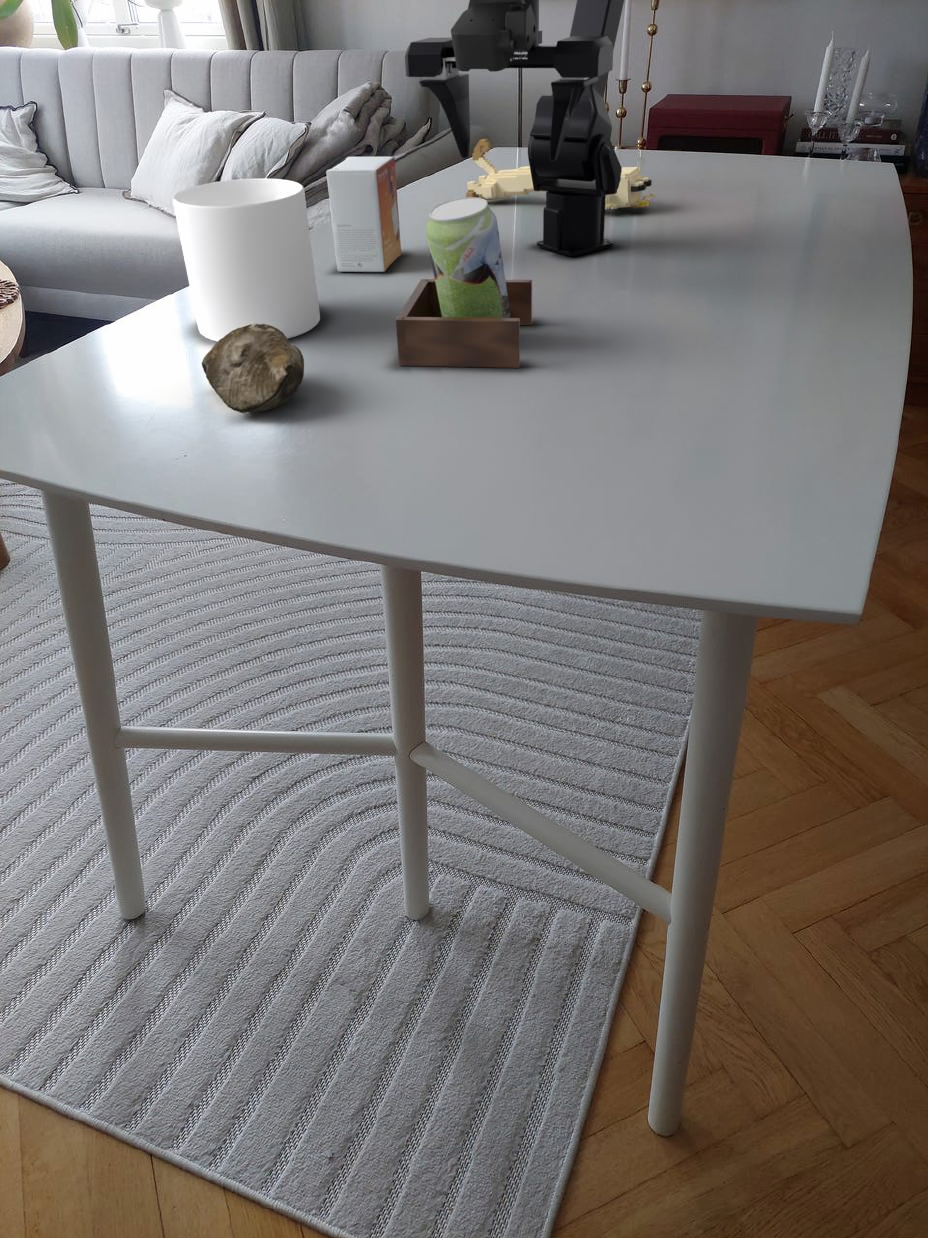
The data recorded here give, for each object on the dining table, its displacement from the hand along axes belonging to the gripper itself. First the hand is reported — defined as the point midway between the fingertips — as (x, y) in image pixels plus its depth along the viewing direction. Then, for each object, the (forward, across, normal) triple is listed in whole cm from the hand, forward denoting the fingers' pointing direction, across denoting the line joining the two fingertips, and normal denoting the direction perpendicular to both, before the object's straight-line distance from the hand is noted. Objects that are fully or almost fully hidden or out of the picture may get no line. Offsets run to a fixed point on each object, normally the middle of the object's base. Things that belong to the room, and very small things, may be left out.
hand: (508, 158), depth 94 cm
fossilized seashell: (+12, -9, -34) cm, 38 cm away
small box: (+12, -18, +3) cm, 22 cm away
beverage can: (+12, +3, -18) cm, 22 cm away
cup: (+12, -19, -18) cm, 29 cm away
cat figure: (+12, -5, +34) cm, 37 cm away
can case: (+12, +3, -18) cm, 22 cm away
